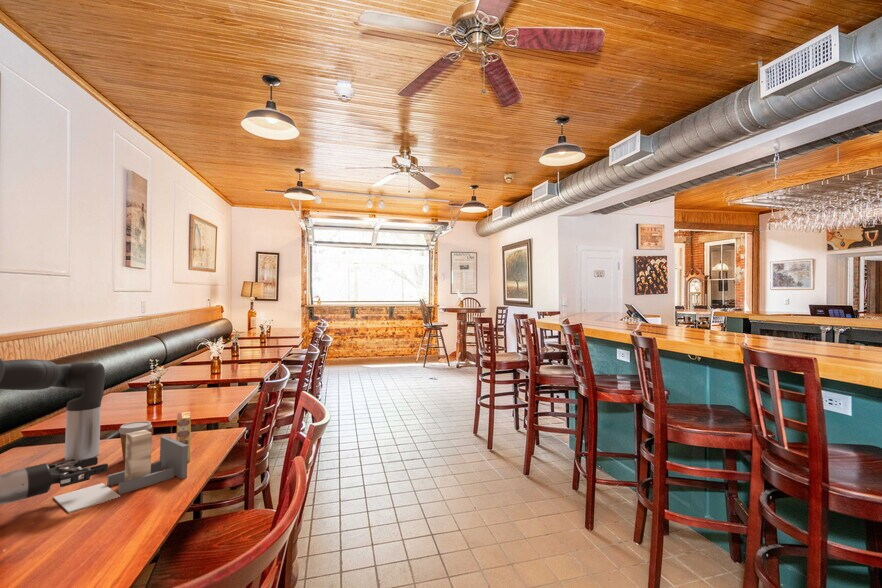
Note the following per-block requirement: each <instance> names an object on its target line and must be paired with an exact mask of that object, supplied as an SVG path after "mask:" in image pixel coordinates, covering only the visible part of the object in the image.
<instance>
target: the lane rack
mask: <svg viewBox="0 0 882 588" xmlns="http://www.w3.org/2000/svg"><path fill="white" fill-rule="evenodd" d="M159 441H160V443H159V446H160V448H159V461H158V460H157V461H156V462H151V474H148V475H145V476H141V477H138V478H134V479H131V480H127V481H125V470H122V471H119V472H114V473H111V474H108V475H107V479H106V480H107V481H106V482H107V483H106V486H107V485H108V487H111V486H114V484H115V485H117V483H118V493H119V495H123V494H126V493H129V492H132V491H135V490H139V489H142V488H145V487H149V486H152V485H155V484H158V483H161V481H162V482H164V481H168V480H171V479H174V478H175V477H177V478H179V479H181V480H183V479H186V478H188V461H187V459H188V445H186V444H184V443H181V442H179V441H177V440H176V439H174V438H171V437H170V436H168V435H163V436H160V440H159ZM162 468H163V469H162ZM164 469H165V470H164ZM110 485H111V486H110ZM125 492H126V493H125ZM118 493H117V494H118ZM122 493H123V494H122Z"/></svg>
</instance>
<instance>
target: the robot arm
mask: <svg viewBox="0 0 882 588" xmlns="http://www.w3.org/2000/svg"><path fill="white" fill-rule="evenodd" d="M105 379H106V370H105V367H104V365H103V364H102V363H100V362H73V363H72V362H71V363H63V364H62V363H60V364H58V363H57V364H56V363H55V362H54V361H50V360H46V359H36V358H35V359H33V358H24V359H22V358H21V359H10V360H7V359H6V360H2V358H1V357H0V390H9V391H39V390H46V389H49V388H51V387H53V388H54V387H55V388H62V389H63V388H64V389H68V390H69V389H70V390H71V389H72V390H83V393H82V395H81V396H80V397H76V398H73V399H70V400H69V401H67V403H66V413H65V414H66V416H65V437H64V438H65V442H64V461H58V462H56V463H52V464H48V463H46V462H44V463H40V464H37V465H35V464H34V465H31V466H28V467H23V468H18V469H14V470H10V471H7V472H4V473H1V474H0V505H5V504H10V503H15V502H18V501H22V500H25V499H29V498H33V497H36V496H39V495H43V494H47V493H48V492H50V490H51V486H52V485H56V484H59V488H64V487H66V486H67V487H68V486H70V485H71V486H72V485H75V484H78V483H83V482H87V481H90V480H91V477H93V476H96V475H99V474H104V473H106V472H108V471H109V464H108V463H102V464H99V463H98V461H99V460H98V459H99V458H98V457H97V456H99V455H100V440H101V439H100V438H101V409H102V408H101V406H102V401H103V398H104V388H105ZM97 464H98V465H97Z"/></svg>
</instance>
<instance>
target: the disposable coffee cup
mask: <svg viewBox="0 0 882 588" xmlns="http://www.w3.org/2000/svg"><path fill="white" fill-rule="evenodd" d="M152 428H153V425H152V422H151V421H149V420H140V421H132V422H128V423H124V424H122V425H120V426H119V430H118V433H119V434H120V435H119V436H120V444H121V451H122V461H123V462H124V463H125V451H126V434H127V433H132V432H137V431H141V430H147V431H149V432H151V430H152Z"/></svg>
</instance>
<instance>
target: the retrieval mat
mask: <svg viewBox="0 0 882 588" xmlns="http://www.w3.org/2000/svg"><path fill="white" fill-rule="evenodd" d="M118 497H119V498H121V494H118V493H117V492H116V491H114V490H113V489H112V488H111V487H110V486H107V484H105V483H103V482H102V483H97V484H94V485H90V486H87V487H83V488H80V489H77V490H73V491H69V492H65V493H63V494H58V495H55V496H53V498H52V499H54V500H55V502H57V504H59V506H61V507H62V508H63V509H64V511H66V512H67V513H68V514H71V513H74V512H77V511H81V510H83V509H86V508H89V507H90V508H91V507H93V506H96V505H99V504H102V503H106V502H109V501H112V500H111V499H113V500H115V498H116V499H118ZM108 500H109V501H108ZM105 501H106V502H105Z"/></svg>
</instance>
